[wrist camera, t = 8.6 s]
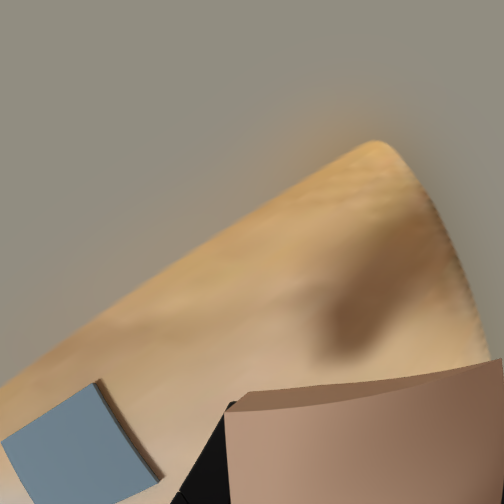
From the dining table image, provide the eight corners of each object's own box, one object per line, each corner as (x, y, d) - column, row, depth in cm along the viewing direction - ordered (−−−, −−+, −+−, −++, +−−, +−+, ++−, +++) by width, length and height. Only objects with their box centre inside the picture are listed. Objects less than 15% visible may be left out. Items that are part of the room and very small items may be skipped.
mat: (95, 383, 20) (92, 383, 20) (159, 481, 17) (157, 483, 17) (4, 441, 17) (0, 441, 17) (54, 525, 14) (50, 527, 14)
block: (326, 452, 13) (487, 563, 2) (253, 459, 13) (248, 634, 1) (321, 384, 14) (501, 358, 3) (248, 391, 14) (223, 411, 3)
